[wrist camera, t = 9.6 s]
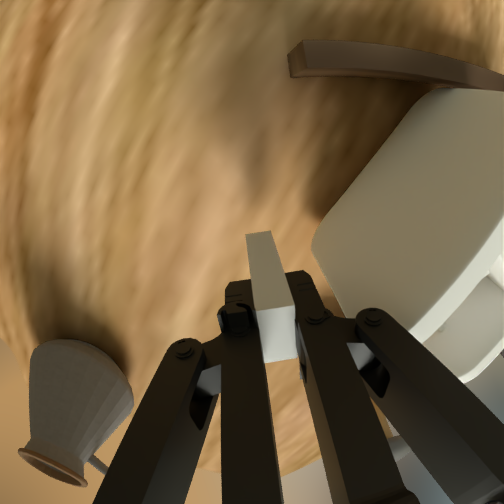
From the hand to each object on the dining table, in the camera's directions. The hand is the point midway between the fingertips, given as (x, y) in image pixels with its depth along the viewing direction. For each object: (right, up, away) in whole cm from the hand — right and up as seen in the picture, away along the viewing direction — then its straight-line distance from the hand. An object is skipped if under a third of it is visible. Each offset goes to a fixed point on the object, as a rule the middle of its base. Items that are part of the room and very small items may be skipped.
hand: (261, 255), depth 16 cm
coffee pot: (-13, -14, +10) cm, 22 cm away
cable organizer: (+11, +4, +3) cm, 13 cm away
